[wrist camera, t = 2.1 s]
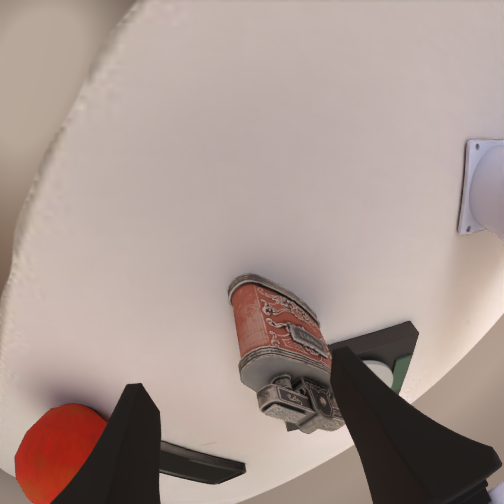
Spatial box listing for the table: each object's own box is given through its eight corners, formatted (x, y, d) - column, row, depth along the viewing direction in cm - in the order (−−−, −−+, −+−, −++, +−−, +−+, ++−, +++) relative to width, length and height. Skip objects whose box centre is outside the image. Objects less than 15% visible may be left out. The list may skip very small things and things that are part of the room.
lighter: (326, 315, 24) (376, 420, 15) (296, 342, 25) (332, 447, 16) (249, 263, 20) (282, 387, 12) (217, 297, 21) (230, 424, 13)
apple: (104, 447, 31) (97, 541, 19) (23, 403, 26) (-3, 503, 13) (158, 419, 28) (157, 542, 16) (57, 363, 23) (20, 500, 11)
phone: (215, 485, 37) (125, 462, 31) (214, 479, 38) (126, 455, 32) (250, 470, 35) (153, 446, 29) (249, 464, 36) (154, 438, 30)
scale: (410, 320, 26) (424, 340, 24) (391, 387, 31) (400, 405, 29) (275, 357, 25) (282, 382, 23) (284, 418, 31) (289, 439, 28)
